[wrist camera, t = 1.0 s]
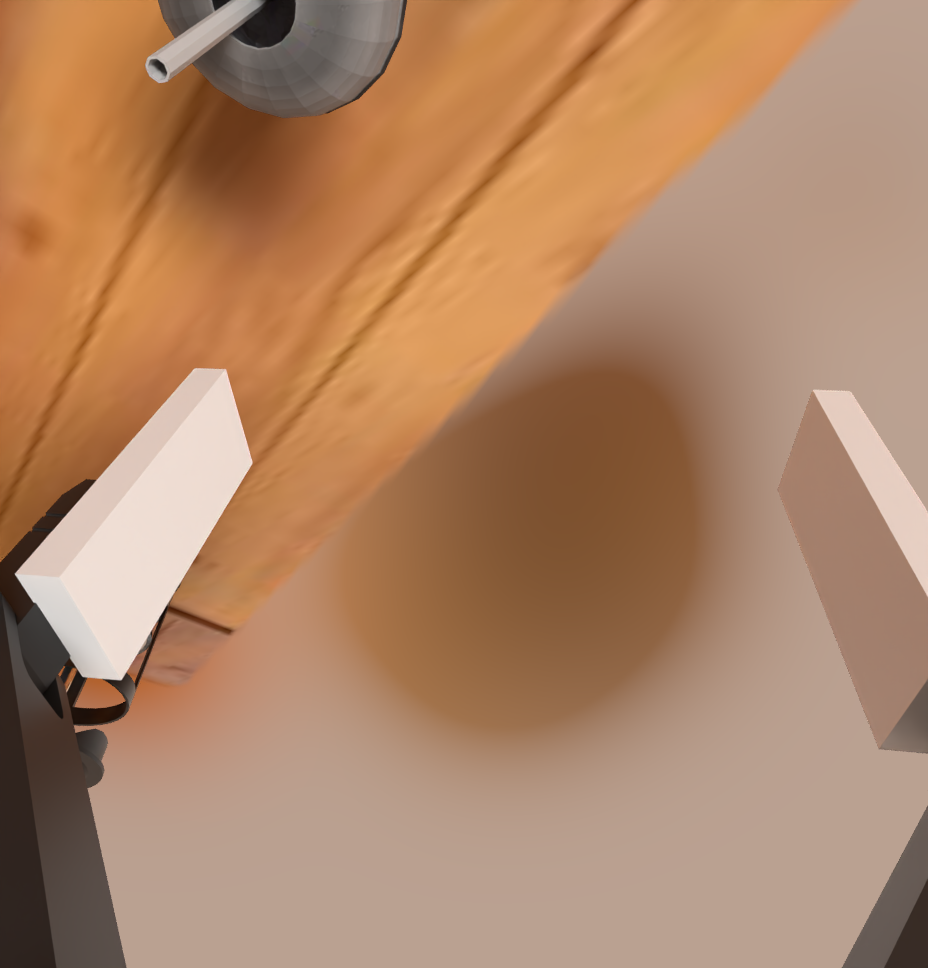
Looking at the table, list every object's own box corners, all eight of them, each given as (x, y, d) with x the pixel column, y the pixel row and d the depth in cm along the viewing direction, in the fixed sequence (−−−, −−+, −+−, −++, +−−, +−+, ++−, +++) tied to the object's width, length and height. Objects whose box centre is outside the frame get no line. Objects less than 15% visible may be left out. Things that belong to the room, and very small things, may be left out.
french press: (76, 505, 50) (-115, 824, 34) (199, 546, 54) (81, 856, 37) (52, 586, 57) (-116, 886, 41) (162, 619, 61) (49, 908, 44)
